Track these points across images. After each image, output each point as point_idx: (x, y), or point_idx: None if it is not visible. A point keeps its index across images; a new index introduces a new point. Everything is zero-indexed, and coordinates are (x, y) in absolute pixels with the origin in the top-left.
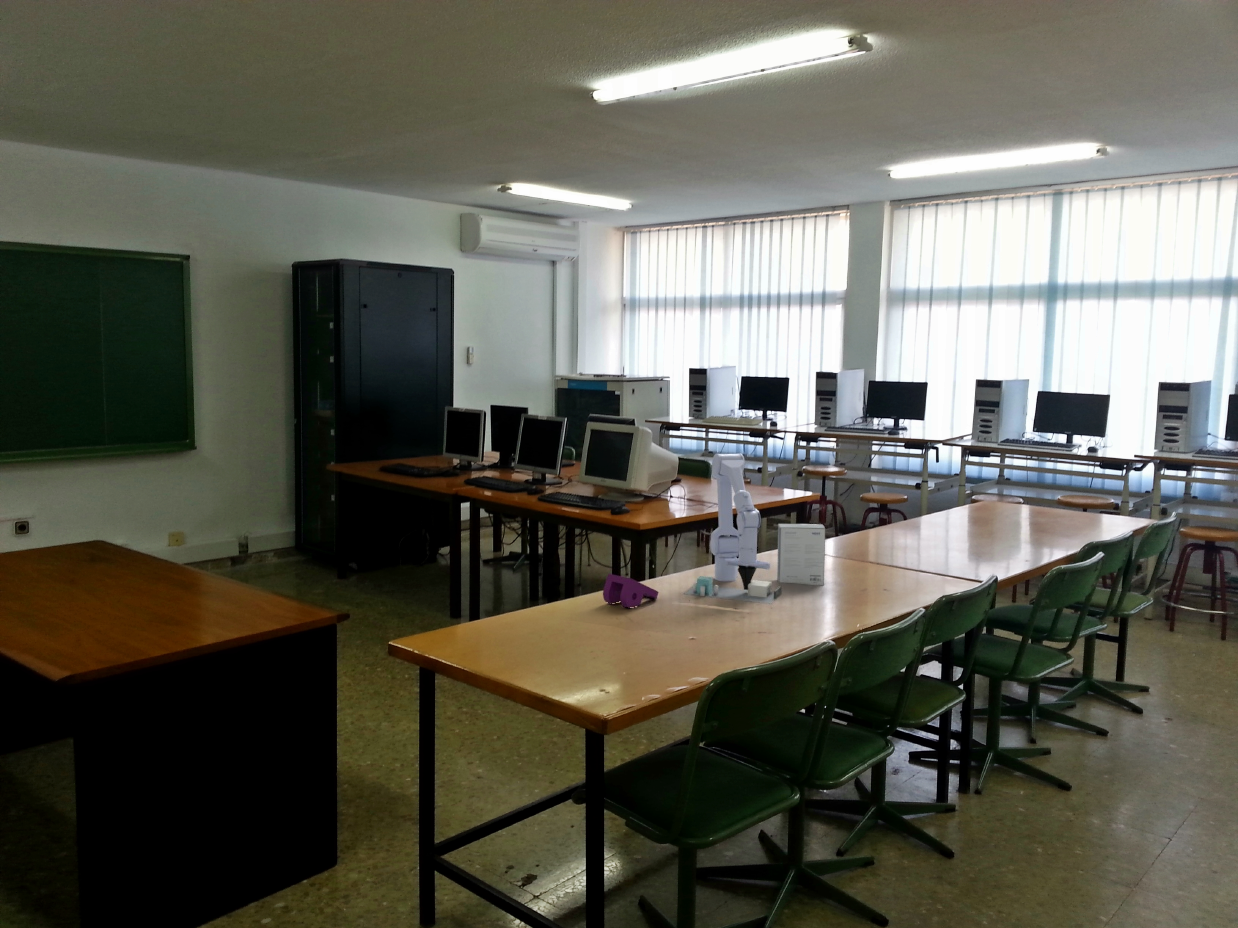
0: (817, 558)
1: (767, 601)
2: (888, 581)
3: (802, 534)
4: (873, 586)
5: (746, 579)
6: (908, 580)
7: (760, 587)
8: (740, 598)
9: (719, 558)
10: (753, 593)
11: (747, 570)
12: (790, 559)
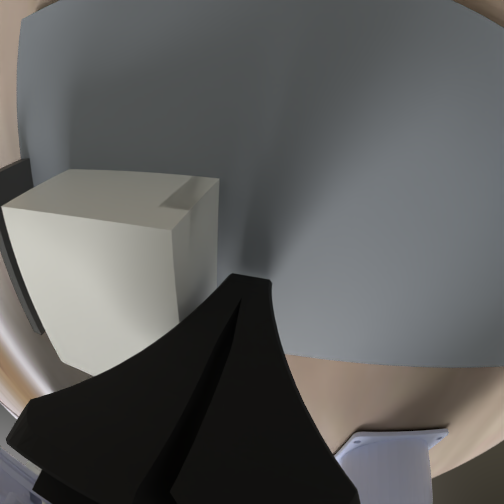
0: (37, 469)
1: (40, 54)
2: (22, 405)
3: None
4: (9, 383)
5: (205, 347)
6: (14, 404)
7: (48, 202)
8: (270, 18)
9: None
10: (152, 180)
11: (83, 467)
12: None
